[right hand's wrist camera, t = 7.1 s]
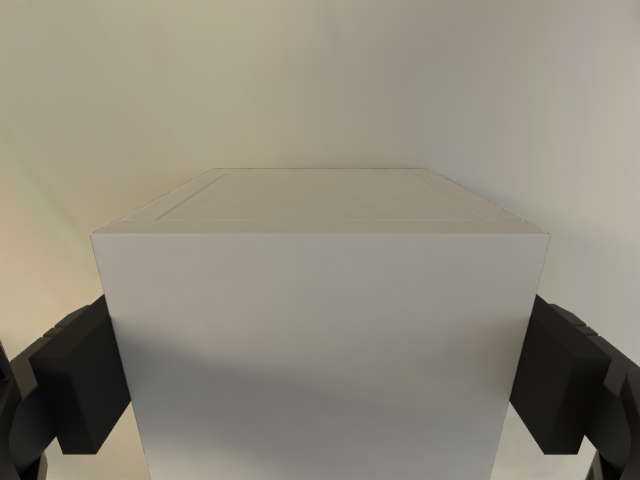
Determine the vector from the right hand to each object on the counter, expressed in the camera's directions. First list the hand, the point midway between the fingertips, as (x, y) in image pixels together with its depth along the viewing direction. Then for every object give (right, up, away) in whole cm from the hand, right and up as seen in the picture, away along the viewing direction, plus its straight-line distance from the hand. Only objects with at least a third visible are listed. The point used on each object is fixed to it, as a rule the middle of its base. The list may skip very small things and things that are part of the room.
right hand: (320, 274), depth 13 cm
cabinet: (0, -5, +7) cm, 9 cm away
